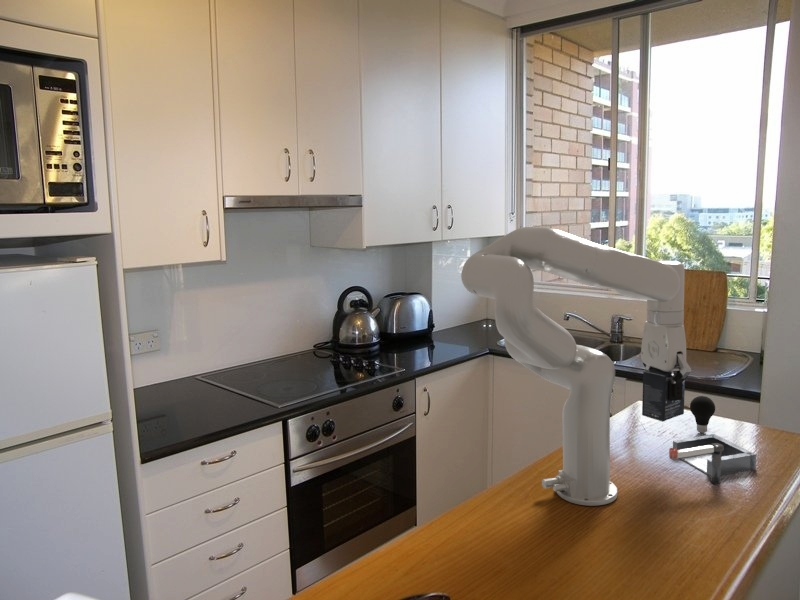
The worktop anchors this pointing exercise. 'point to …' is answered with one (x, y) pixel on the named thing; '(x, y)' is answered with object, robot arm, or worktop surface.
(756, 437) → the worktop surface
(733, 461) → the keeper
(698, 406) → the light bulb
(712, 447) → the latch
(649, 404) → the box
